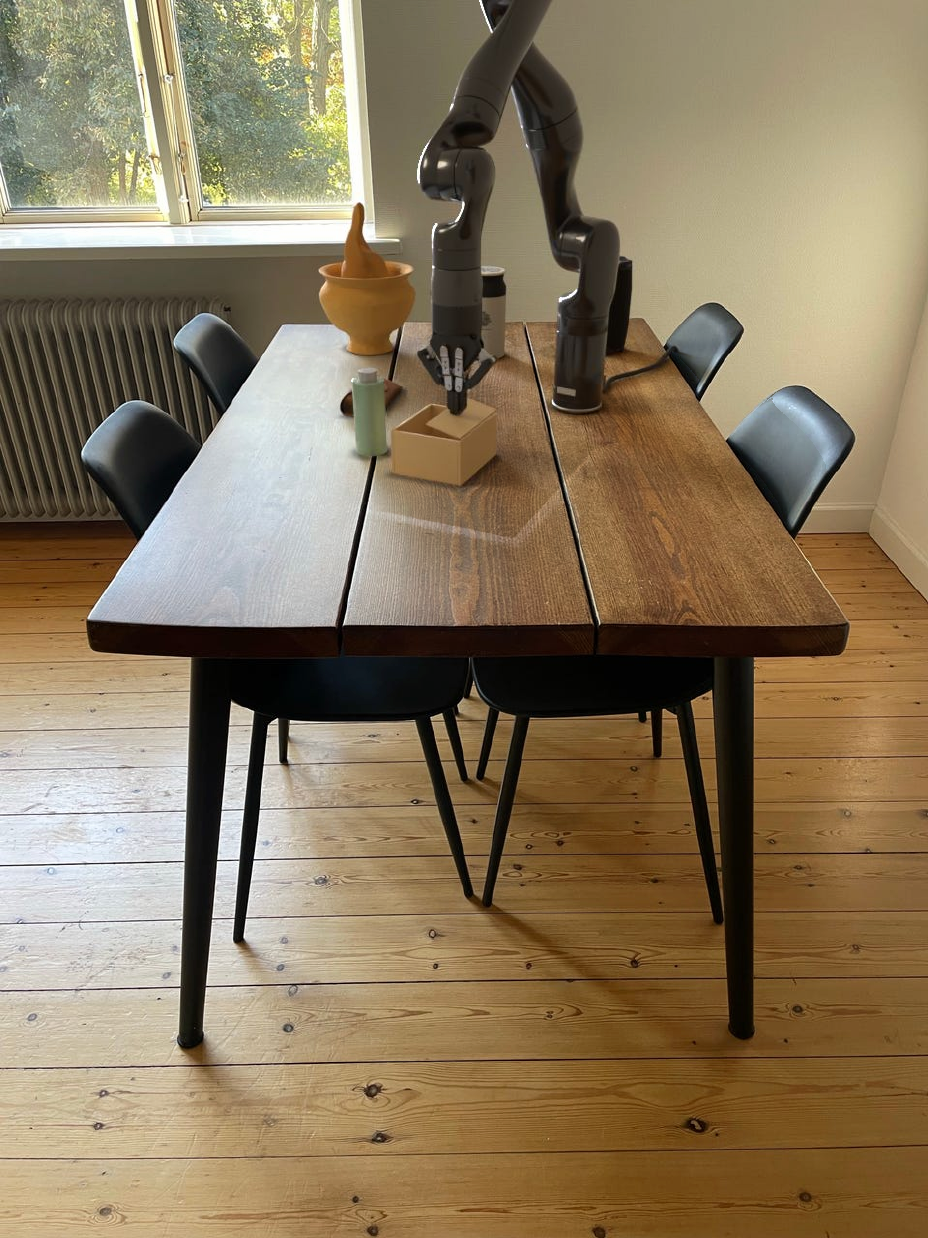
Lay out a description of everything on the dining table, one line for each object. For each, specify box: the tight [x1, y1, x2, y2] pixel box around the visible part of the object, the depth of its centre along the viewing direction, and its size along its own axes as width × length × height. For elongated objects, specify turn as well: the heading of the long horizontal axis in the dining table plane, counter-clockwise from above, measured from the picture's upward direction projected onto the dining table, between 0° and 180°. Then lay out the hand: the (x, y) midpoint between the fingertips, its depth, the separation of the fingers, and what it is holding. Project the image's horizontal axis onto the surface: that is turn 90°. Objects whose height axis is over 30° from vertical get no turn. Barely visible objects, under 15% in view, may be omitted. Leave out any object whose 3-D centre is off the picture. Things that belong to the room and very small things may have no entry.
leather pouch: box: [339, 374, 403, 418], centre depth 176 cm, size 18×7×7 cm, turn 172°
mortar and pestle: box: [318, 201, 417, 356], centre depth 200 cm, size 21×21×30 cm
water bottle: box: [351, 367, 388, 457], centre depth 151 cm, size 5×5×14 cm
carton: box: [390, 403, 498, 487], centre depth 148 cm, size 14×12×8 cm
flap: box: [426, 397, 497, 439], centre depth 144 cm, size 14×6×1 cm, turn 156°
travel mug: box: [476, 266, 507, 360], centre depth 199 cm, size 8×8×18 cm
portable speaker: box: [605, 255, 634, 356], centre depth 202 cm, size 9×9×20 cm
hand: (456, 412), depth 144 cm, fingers closed
